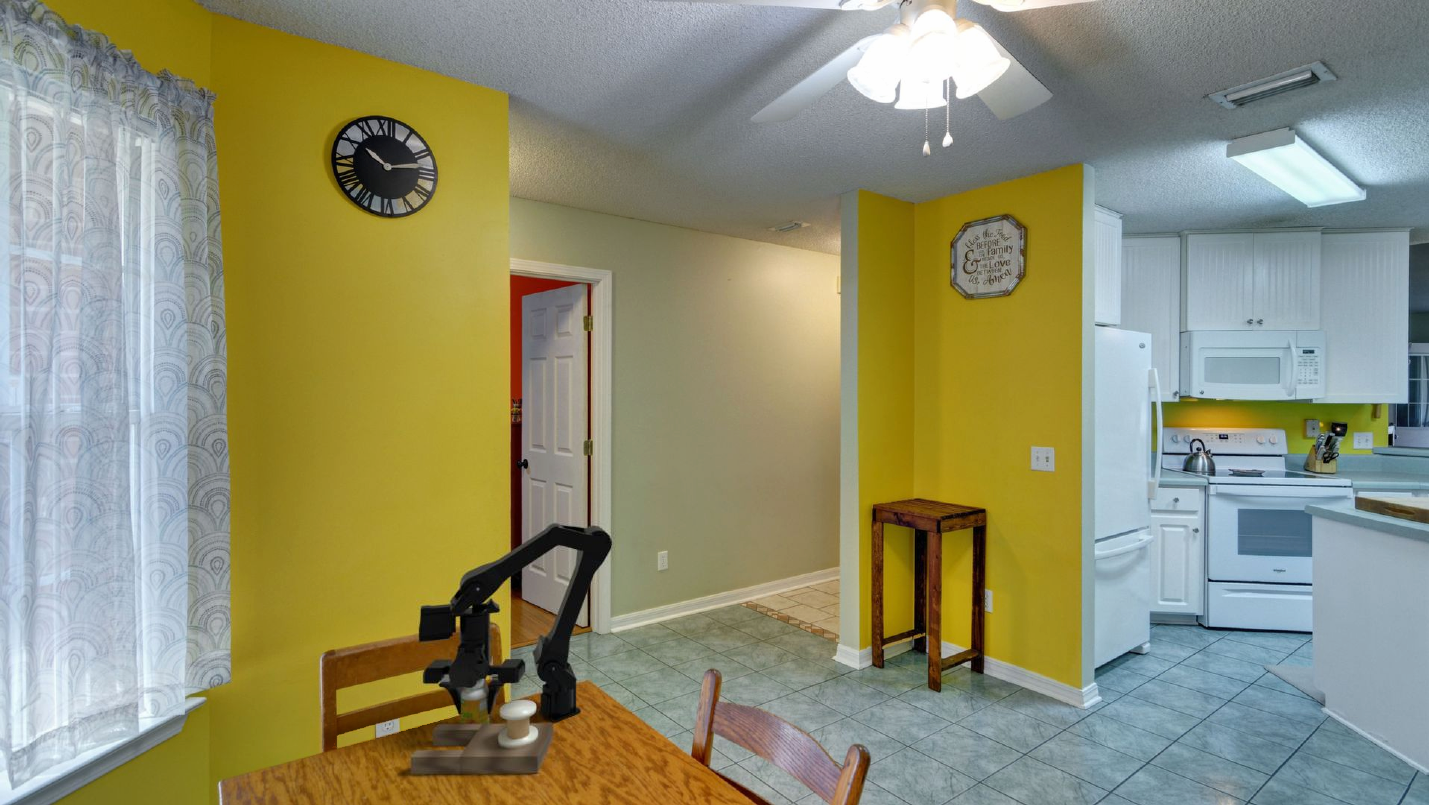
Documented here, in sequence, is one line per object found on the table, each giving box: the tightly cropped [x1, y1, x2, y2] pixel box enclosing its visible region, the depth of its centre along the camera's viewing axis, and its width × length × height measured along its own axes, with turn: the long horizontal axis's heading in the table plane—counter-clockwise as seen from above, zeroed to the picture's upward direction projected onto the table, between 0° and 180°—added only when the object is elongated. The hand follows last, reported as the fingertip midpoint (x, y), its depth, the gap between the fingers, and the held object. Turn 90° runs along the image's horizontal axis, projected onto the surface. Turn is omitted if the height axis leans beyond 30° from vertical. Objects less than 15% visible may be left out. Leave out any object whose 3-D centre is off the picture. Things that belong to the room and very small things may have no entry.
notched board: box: [410, 722, 554, 775], centre depth 124 cm, size 22×12×3 cm, turn 91°
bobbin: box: [498, 699, 538, 749], centre depth 124 cm, size 7×7×6 cm
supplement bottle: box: [460, 678, 490, 724], centre depth 136 cm, size 5×5×10 cm
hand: (475, 713), depth 136 cm, fingers closed on supplement bottle, 5 cm apart
